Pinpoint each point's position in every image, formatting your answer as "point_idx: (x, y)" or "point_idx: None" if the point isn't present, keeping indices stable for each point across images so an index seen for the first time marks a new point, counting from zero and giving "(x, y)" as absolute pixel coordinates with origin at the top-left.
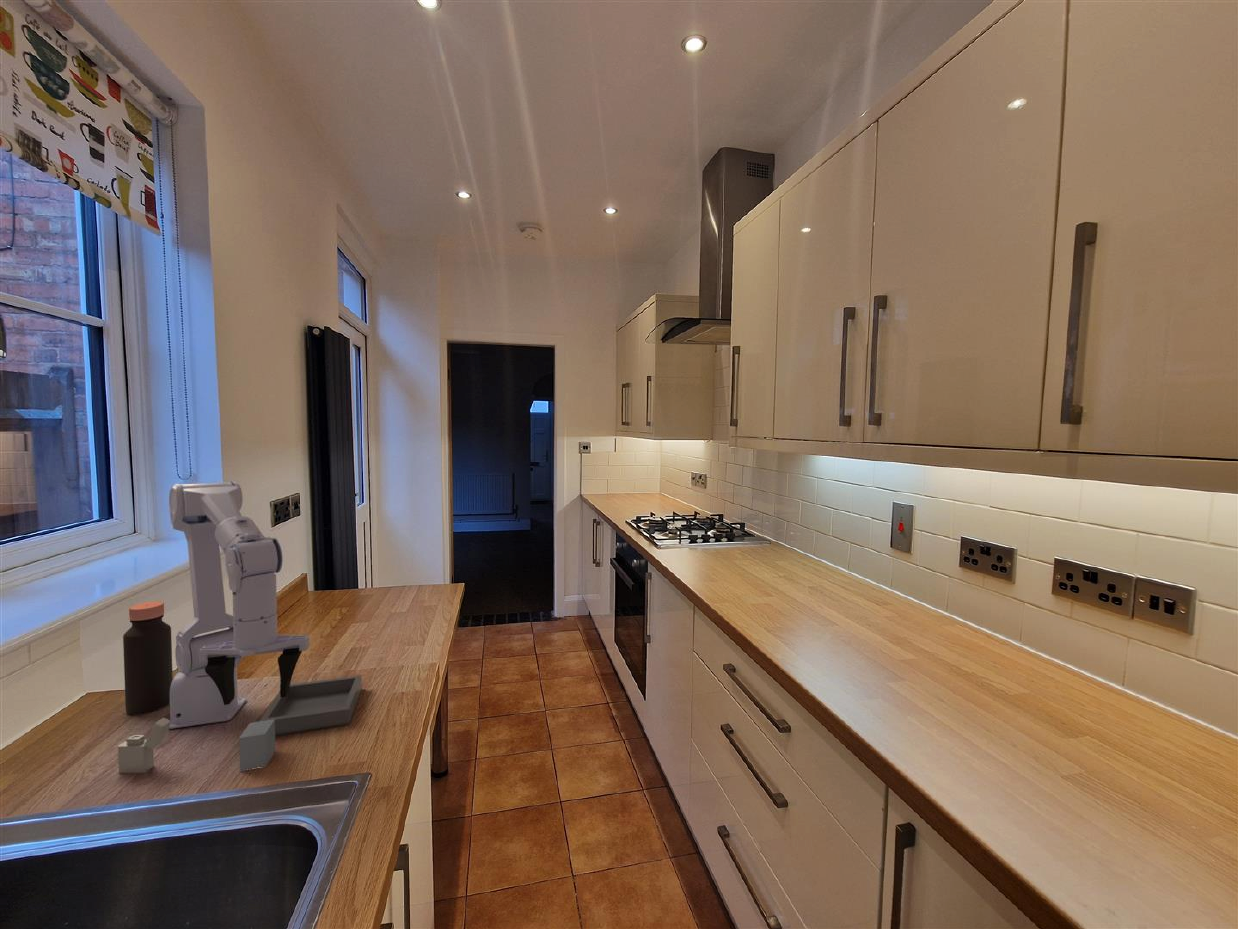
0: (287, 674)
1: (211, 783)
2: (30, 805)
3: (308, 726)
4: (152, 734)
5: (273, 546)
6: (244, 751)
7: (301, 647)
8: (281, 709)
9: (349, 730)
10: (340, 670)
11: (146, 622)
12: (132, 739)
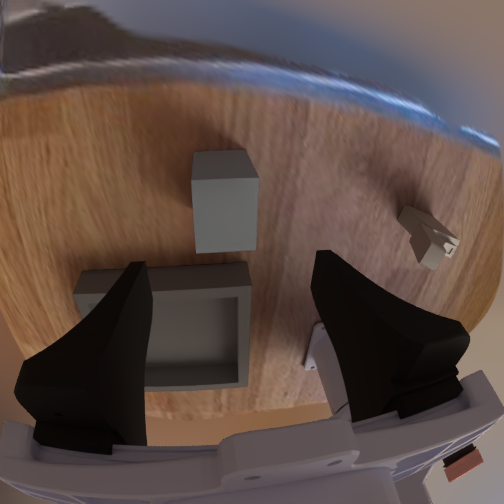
0: (88, 321)
1: (291, 125)
2: (492, 175)
3: (153, 274)
4: (435, 238)
5: None
6: (241, 164)
7: (16, 440)
8: (235, 338)
9: (72, 252)
10: (186, 412)
11: (463, 452)
12: (451, 244)
